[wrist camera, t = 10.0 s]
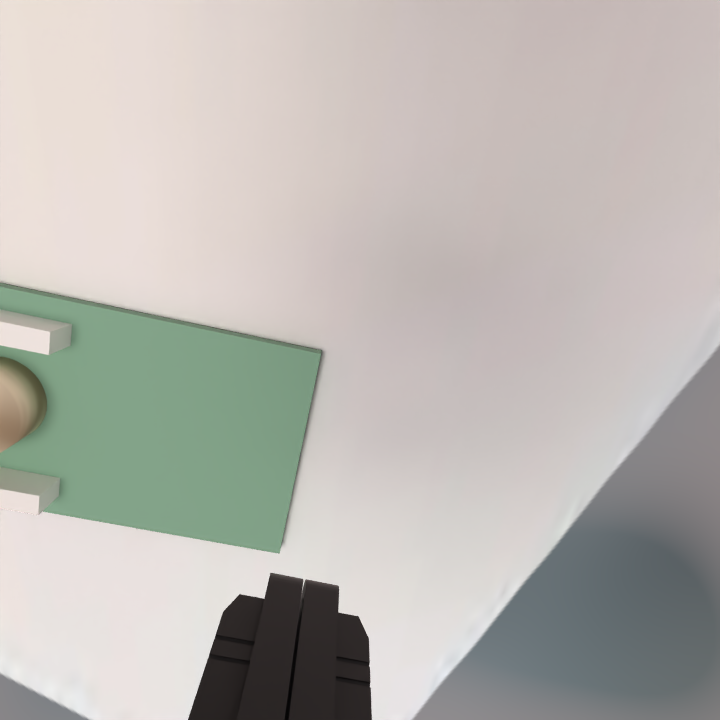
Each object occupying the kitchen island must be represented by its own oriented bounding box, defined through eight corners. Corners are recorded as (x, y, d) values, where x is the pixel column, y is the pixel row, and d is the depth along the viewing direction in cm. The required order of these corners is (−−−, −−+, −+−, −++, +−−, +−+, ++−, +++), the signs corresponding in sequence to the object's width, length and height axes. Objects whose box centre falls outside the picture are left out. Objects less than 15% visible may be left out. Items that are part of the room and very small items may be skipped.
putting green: (-65, 269, 33) (-78, 270, 32) (321, 350, 35) (321, 353, 34) (-67, 483, 37) (-78, 490, 36) (281, 545, 39) (279, 553, 38)
